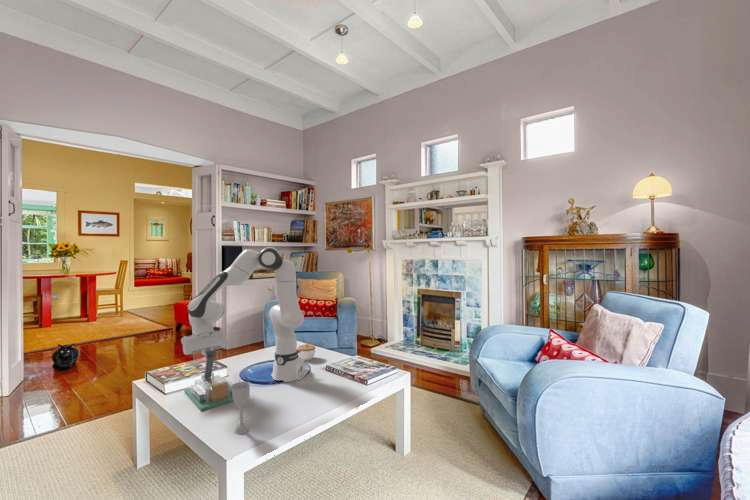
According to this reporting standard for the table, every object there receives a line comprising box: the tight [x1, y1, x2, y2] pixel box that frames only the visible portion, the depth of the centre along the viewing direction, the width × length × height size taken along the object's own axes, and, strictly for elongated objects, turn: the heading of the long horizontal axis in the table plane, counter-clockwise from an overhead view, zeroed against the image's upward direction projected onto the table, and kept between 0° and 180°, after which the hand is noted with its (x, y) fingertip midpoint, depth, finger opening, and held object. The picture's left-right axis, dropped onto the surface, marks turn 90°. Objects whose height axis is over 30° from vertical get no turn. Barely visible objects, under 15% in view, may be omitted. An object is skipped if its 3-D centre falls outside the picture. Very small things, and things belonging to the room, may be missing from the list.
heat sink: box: [190, 371, 234, 402], centre depth 169 cm, size 16×15×7 cm
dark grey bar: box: [203, 349, 217, 379], centre depth 172 cm, size 16×4×2 cm
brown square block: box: [210, 381, 228, 403], centre depth 162 cm, size 2×7×7 cm, turn 132°
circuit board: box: [183, 387, 234, 412], centre depth 170 cm, size 26×18×1 cm
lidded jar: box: [297, 343, 316, 362], centre depth 221 cm, size 11×11×9 cm
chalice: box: [231, 381, 252, 435], centre depth 138 cm, size 7×7×18 cm
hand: (209, 357), depth 172 cm, fingers closed, pressing on dark grey bar
